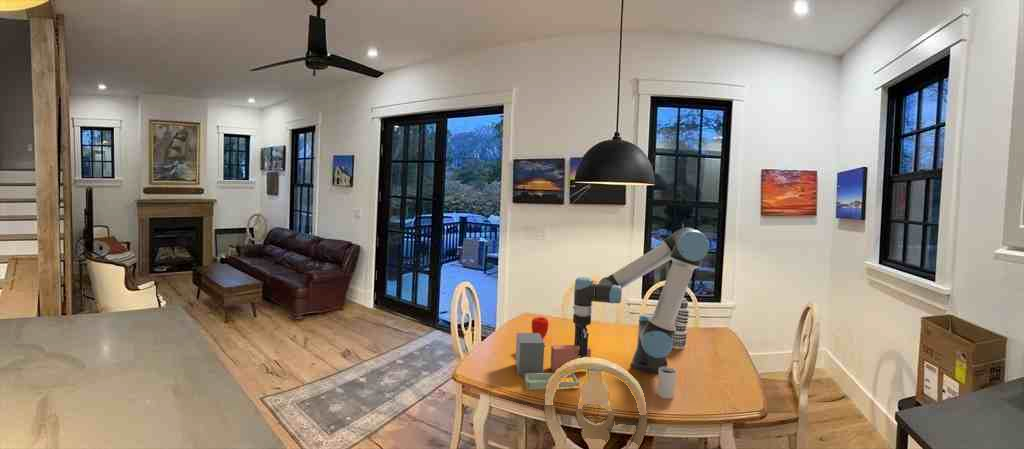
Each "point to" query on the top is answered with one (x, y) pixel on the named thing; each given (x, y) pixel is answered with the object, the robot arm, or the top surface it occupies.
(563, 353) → the pink rectangular box
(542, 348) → the dispenser
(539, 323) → the apple
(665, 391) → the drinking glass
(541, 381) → the tray
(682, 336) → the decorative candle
